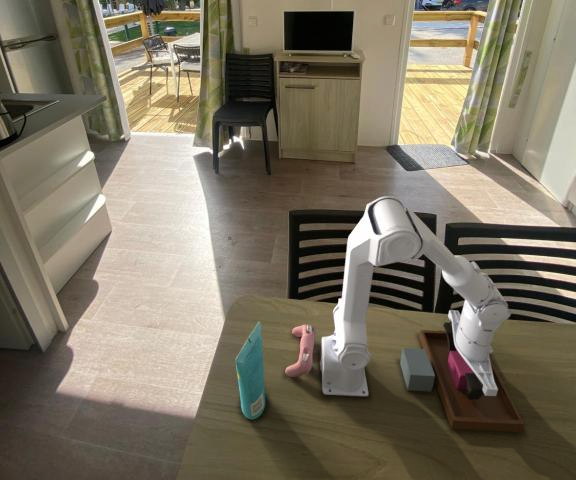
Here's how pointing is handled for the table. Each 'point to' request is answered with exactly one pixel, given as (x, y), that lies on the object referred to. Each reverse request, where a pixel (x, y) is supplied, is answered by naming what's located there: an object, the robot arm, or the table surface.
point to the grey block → (417, 369)
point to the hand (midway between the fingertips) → (462, 374)
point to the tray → (458, 408)
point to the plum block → (458, 369)
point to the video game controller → (303, 351)
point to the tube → (251, 375)
